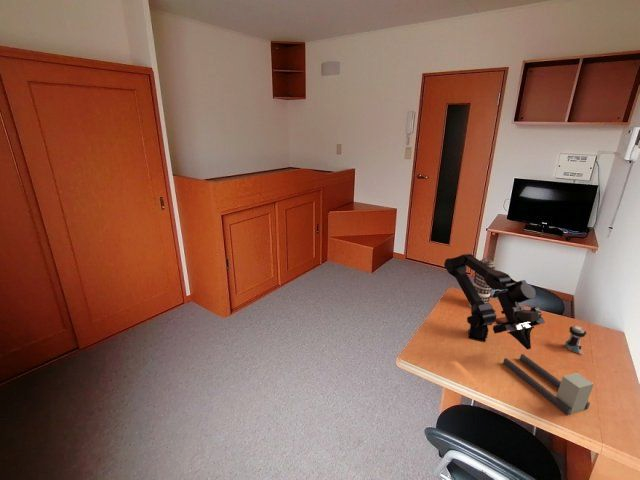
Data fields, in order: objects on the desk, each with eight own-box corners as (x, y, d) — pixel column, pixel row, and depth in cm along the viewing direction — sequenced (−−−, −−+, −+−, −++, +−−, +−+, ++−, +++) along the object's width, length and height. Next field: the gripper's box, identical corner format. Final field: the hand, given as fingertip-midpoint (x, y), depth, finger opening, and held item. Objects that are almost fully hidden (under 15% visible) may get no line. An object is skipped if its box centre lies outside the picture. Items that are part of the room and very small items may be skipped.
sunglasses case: (522, 315, 154) (531, 308, 149) (531, 328, 150) (541, 322, 145) (491, 319, 150) (499, 312, 145) (500, 334, 145) (508, 327, 140)
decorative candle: (469, 300, 167) (478, 255, 159) (489, 305, 163) (499, 259, 155) (467, 307, 160) (476, 261, 152) (487, 313, 155) (498, 265, 147)
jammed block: (554, 401, 103) (562, 376, 100) (568, 397, 105) (576, 372, 101) (570, 414, 98) (579, 388, 95) (584, 409, 100) (593, 383, 97)
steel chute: (501, 366, 120) (503, 358, 119) (521, 361, 123) (524, 353, 121) (564, 418, 98) (568, 410, 97) (588, 411, 101) (591, 402, 100)
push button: (586, 354, 128) (594, 332, 124) (577, 356, 126) (584, 335, 123) (569, 344, 134) (576, 323, 130) (560, 346, 132) (567, 325, 129)
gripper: (506, 303, 110) (527, 350, 104) (547, 296, 115) (568, 341, 109) (484, 311, 120) (502, 355, 114) (523, 304, 125) (541, 345, 119)
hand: (529, 349), depth 114 cm, fingers closed
